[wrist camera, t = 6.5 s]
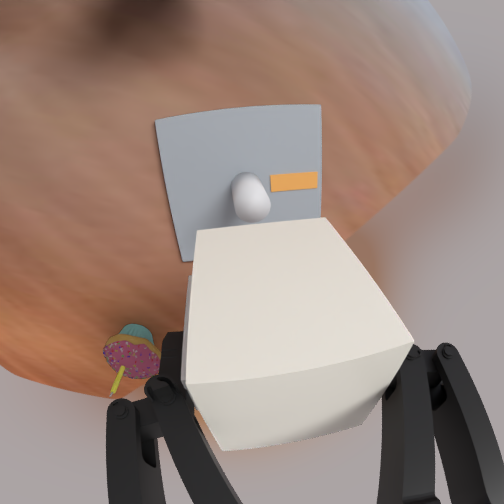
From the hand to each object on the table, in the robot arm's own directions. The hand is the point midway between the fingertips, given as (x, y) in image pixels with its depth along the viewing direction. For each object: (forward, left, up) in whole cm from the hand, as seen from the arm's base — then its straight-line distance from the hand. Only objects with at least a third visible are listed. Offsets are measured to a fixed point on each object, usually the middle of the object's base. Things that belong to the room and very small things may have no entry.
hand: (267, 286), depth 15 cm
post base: (0, +1, -15) cm, 15 cm away
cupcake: (-18, -19, -15) cm, 30 cm away
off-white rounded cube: (0, -2, -1) cm, 2 cm away
